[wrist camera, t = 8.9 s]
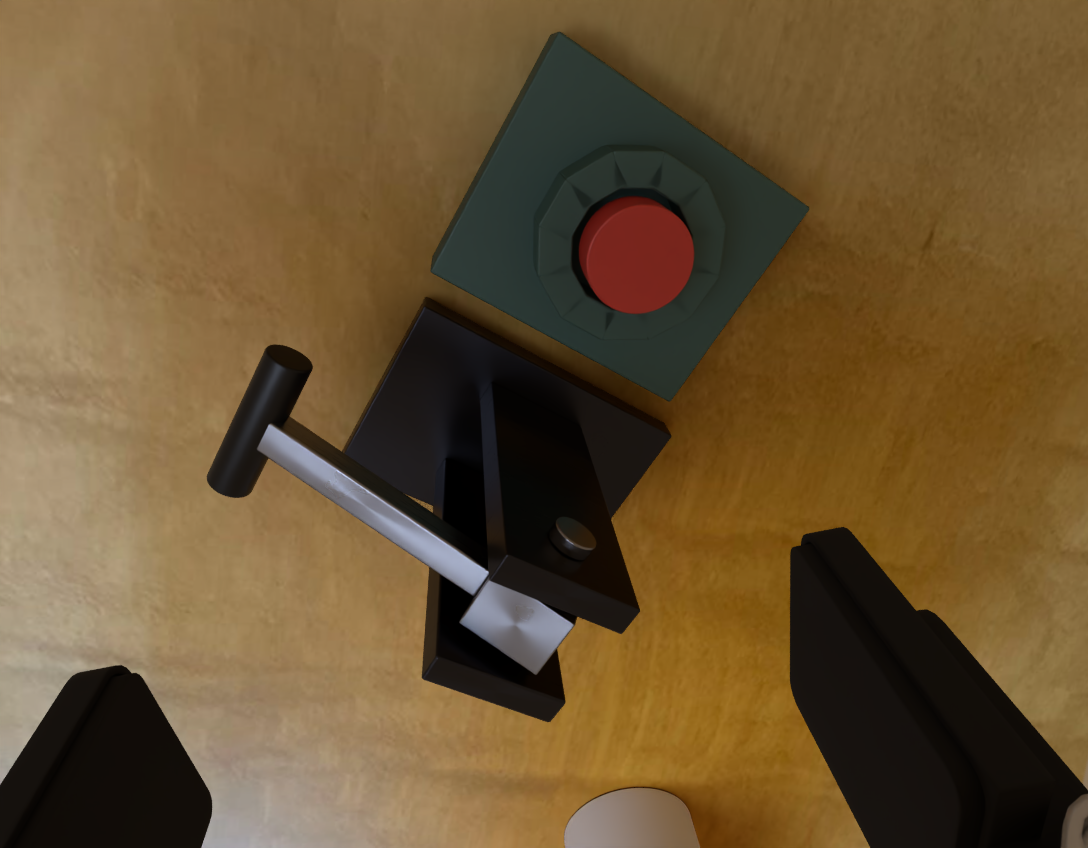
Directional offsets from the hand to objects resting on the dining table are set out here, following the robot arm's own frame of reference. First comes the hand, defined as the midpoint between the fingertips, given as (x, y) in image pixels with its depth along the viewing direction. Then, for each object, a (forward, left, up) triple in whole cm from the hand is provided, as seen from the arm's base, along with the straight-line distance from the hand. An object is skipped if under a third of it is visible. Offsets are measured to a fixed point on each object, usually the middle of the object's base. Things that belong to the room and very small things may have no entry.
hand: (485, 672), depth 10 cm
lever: (+1, -5, -12) cm, 13 cm away
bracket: (+5, -5, -20) cm, 22 cm away
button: (+4, +5, -17) cm, 18 cm away
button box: (+4, +5, -20) cm, 21 cm away
